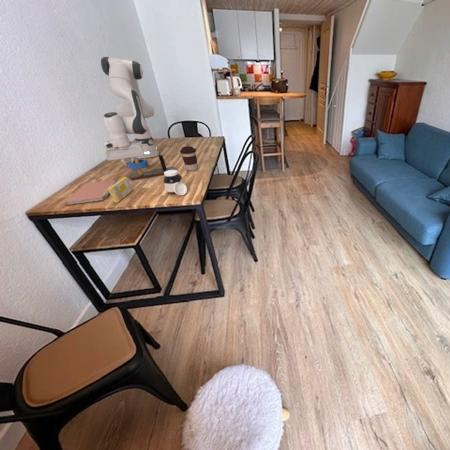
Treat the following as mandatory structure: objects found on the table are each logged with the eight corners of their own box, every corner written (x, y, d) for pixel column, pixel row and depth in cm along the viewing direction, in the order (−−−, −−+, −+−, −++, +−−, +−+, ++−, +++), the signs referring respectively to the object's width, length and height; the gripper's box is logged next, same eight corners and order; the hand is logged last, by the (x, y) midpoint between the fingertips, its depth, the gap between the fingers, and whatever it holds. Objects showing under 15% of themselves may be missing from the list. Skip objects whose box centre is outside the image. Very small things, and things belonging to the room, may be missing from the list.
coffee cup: (202, 167, 176) (198, 146, 168) (193, 172, 168) (188, 149, 160) (191, 166, 179) (186, 145, 171) (181, 170, 171) (175, 148, 163)
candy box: (129, 190, 142) (124, 176, 137) (133, 190, 142) (128, 176, 138) (113, 203, 128) (107, 188, 124) (118, 202, 128) (111, 188, 124)
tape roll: (129, 170, 152) (127, 165, 150) (128, 165, 160) (126, 160, 158) (149, 167, 157) (147, 162, 155) (147, 163, 165) (146, 158, 163)
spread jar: (174, 187, 145) (169, 168, 138) (193, 188, 144) (188, 169, 137) (163, 196, 134) (156, 176, 128) (182, 197, 133) (177, 176, 127)
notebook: (105, 200, 131) (103, 196, 130) (67, 205, 126) (65, 201, 125) (118, 182, 153) (117, 179, 152) (86, 185, 148) (84, 182, 147)
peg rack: (131, 180, 155) (125, 162, 149) (131, 175, 163) (124, 158, 157) (176, 172, 167) (171, 155, 161) (173, 168, 174) (169, 152, 168)
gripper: (140, 139, 155) (147, 161, 162) (101, 143, 146) (110, 166, 153) (141, 141, 151) (148, 163, 158) (100, 145, 141) (110, 169, 149)
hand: (129, 165), depth 155 cm, fingers closed on tape roll, 2 cm apart
